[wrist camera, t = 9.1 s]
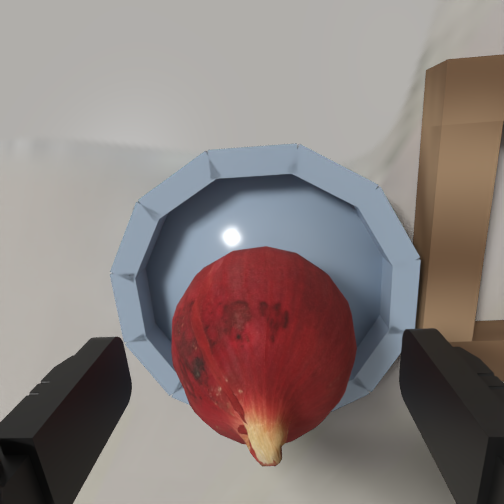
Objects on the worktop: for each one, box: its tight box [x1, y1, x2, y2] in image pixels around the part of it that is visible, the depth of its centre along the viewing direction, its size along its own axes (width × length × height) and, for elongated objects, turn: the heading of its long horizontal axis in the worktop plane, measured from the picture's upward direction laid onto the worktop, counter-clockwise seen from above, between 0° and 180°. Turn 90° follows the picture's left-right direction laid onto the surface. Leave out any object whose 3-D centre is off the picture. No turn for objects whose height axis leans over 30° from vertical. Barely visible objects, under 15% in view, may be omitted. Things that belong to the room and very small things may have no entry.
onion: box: [171, 246, 357, 466], centre depth 11 cm, size 6×6×8 cm
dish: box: [110, 144, 421, 412], centre depth 14 cm, size 12×12×2 cm
